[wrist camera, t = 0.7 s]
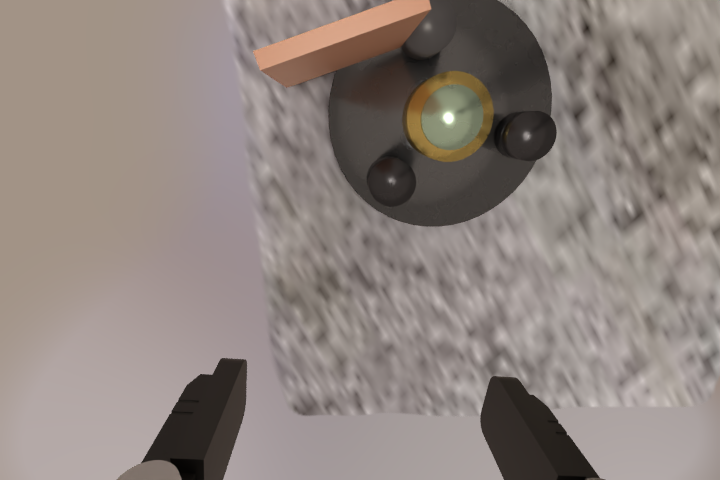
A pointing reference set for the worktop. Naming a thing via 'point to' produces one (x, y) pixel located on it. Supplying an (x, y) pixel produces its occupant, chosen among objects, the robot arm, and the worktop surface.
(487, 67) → the levelling base
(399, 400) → the worktop surface
